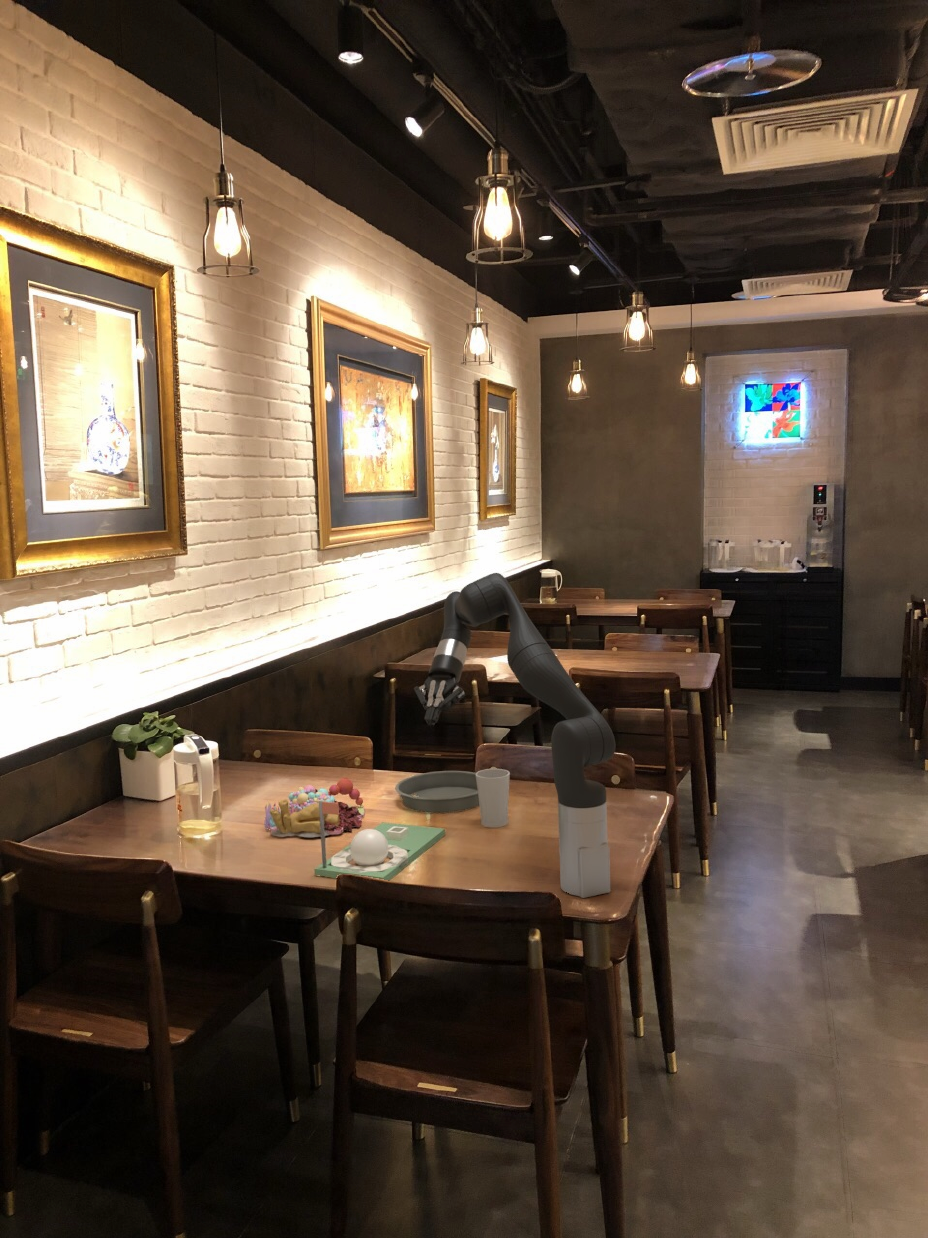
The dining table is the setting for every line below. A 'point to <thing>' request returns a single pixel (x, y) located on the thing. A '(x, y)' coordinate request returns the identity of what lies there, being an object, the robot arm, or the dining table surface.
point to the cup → (493, 796)
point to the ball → (369, 848)
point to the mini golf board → (402, 849)
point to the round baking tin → (440, 791)
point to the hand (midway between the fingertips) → (429, 723)
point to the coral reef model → (315, 812)
